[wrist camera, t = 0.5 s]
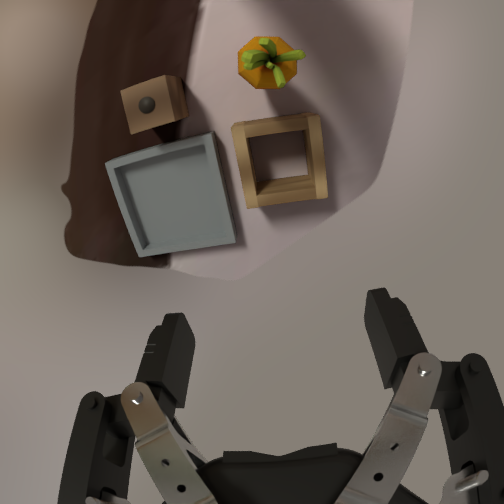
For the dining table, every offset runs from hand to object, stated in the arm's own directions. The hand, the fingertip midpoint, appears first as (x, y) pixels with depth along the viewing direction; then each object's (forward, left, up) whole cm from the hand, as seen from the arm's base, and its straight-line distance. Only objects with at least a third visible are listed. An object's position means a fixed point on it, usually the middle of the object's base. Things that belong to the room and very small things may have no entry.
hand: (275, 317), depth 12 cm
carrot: (-11, +2, -25) cm, 27 cm away
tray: (+2, -12, -25) cm, 28 cm away
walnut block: (-10, -10, -25) cm, 29 cm away
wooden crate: (-1, +2, -25) cm, 25 cm away
